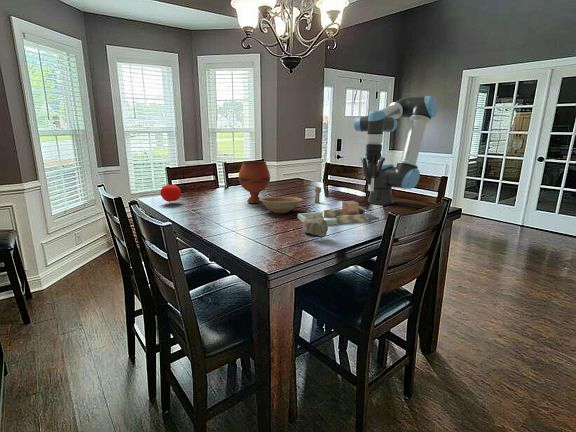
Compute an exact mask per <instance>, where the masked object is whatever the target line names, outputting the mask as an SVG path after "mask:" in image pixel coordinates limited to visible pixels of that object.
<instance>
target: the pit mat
mask: <svg viewBox="0 0 576 432" xmlns="http://www.w3.org/2000/svg"><path fill="white" fill-rule="evenodd" d="M365 214H366V221H370V220H371V221H372V220H380V217H377V216H375V215H373V214H370V213H365Z"/></svg>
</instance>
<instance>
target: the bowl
mask: <svg viewBox="0 0 576 432" xmlns="http://www.w3.org/2000/svg"><path fill="white" fill-rule="evenodd" d="M259 198H260V199H259V200H260V201H261V202H260V203H262V204H263V205H264V206H265V208H266V209H268V210H270V211H271V212H272V213H274V214H287V213H289V212H291V211H292V210H294V209H295V208H297V206H298V205H299V203H302V201H304V199H303V198H300V197H297V196H296V197H295V196H267V197H259Z"/></svg>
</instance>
